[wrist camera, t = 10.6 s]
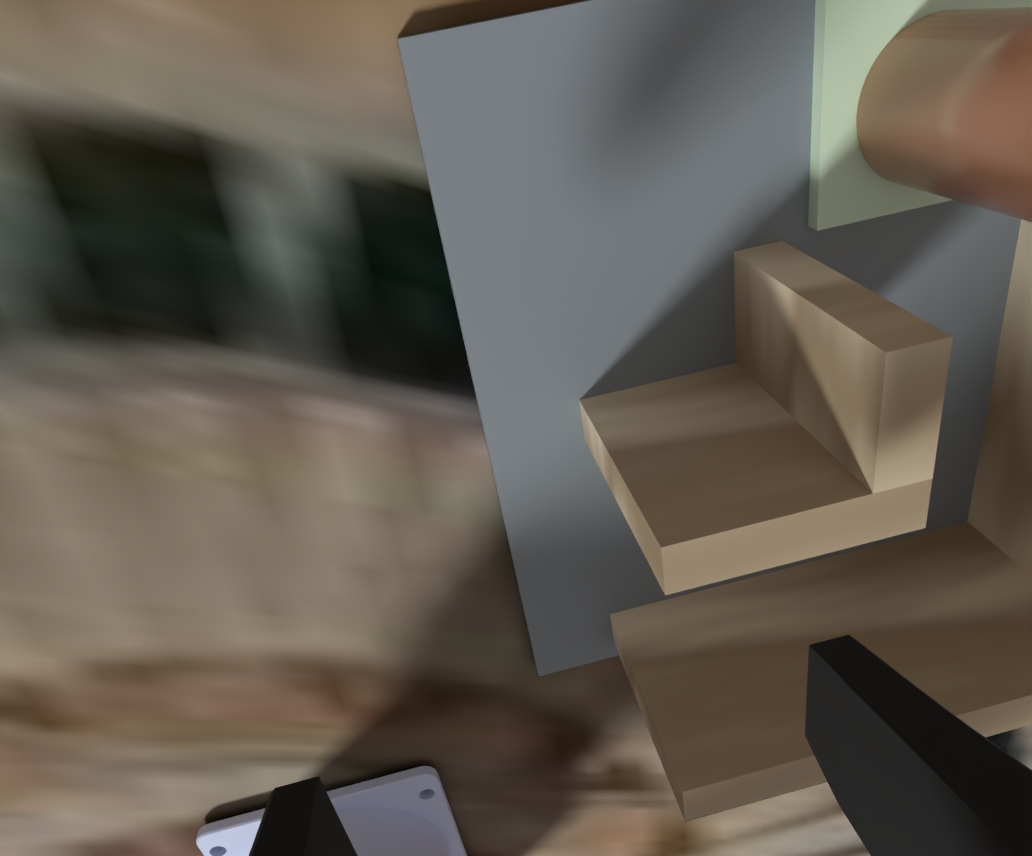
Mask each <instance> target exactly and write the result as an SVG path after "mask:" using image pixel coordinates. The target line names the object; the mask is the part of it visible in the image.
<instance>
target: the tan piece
mask: <svg viewBox="0 0 1032 856" xmlns="http://www.w3.org/2000/svg"><path fill="white" fill-rule="evenodd" d="M734 286H735V340H736V363H733V364H729V365H725V366H721V367H716V368H712V369H708V370H704V371H700V372H695V373H691V374H687V375H683V376H679V377H674V378H670V379H666V380H662V381H658V382H653V383H649V384H645V385H641V386H637V387H632V388H628V389H624V390H620V391H616V392H611V393H607V394H603V395H599V396H595V397H590V398H586V399H582V400H579V401H580V408H581V415H582V422H583V429H584V436H585V441H586V443H587V445H588V447H589V449H590V451H591V453H592V455H593V456H594V458H595V460H596V462H597V464H598V466H599V468H600V470H601V472H602V474H603V476H604V478H605V480H606V482H607V484H608V486H609V487H610V489H611V491H612V493H613V495H614V497H615V499H616V501H617V503H618V505H619V507H620V509H621V511H622V513H623V515H624V517H625V518H626V520H627V522H628V524H629V526H630V528H631V530H632V532H633V534H634V536H635V538H636V540H637V542H638V544H639V546H640V548H641V549H642V551H643V553H644V555H645V557H646V559H647V561H648V563H649V565H650V567H651V569H652V571H653V573H654V575H655V577H656V579H657V580H658V582H659V584H660V586H661V588H662V590H663V592H664V594H665V595H669V594H673V593H677V592H681V591H684V590H688V589H692V588H696V587H700V586H704V585H708V584H711V583H715V582H719V581H723V580H727V579H731V578H735V577H738V576H742V575H746V574H750V573H754V572H758V571H762V570H765V569H769V568H773V567H777V566H781V565H785V564H789V563H792V562H796V561H800V560H804V559H808V558H812V557H816V556H819V555H823V554H827V553H831V552H835V551H839V550H843V549H846V548H850V547H854V546H858V545H862V544H866V543H870V542H873V541H877V540H881V539H885V538H889V537H893V536H897V535H900V534H904V533H908V532H912V531H916V530H920V529H924V528H926V521H927V514H928V507H929V500H930V493H931V486H932V479H933V472H934V465H935V458H936V451H937V444H938V437H939V430H940V423H941V416H942V409H943V402H944V395H945V388H946V381H947V374H948V367H949V360H950V353H951V346H952V339H953V337H952V336H951V335H949V334H947V333H945V332H944V331H942V330H940V329H938V328H936V327H935V326H933V325H931V324H929V323H928V322H926V321H924V320H922V319H920V318H919V317H917V316H915V315H913V314H912V313H910V312H908V311H906V310H904V309H903V308H901V307H899V306H897V305H896V304H894V303H892V302H890V301H888V300H887V299H885V298H883V297H881V296H880V295H878V294H876V293H874V292H872V291H871V290H869V289H867V288H865V287H864V286H862V285H860V284H858V283H856V282H855V281H853V280H851V279H849V278H847V277H846V276H844V275H842V274H840V273H839V272H837V271H835V270H833V269H831V268H830V267H828V266H826V265H824V264H823V263H821V262H819V261H817V260H815V259H814V258H812V257H810V256H808V255H807V254H805V253H803V252H801V251H799V250H798V249H796V248H794V247H792V246H791V245H789V244H787V243H785V242H783V241H778V242H774V243H770V244H765V245H761V246H756V247H752V248H748V249H743V250H739V251H734ZM610 620H611V627H612V634H613V641H614V644H615V647H616V649H617V652H618V654H619V657H620V659H621V662H622V664H623V667H624V669H625V672H626V674H627V677H628V679H629V682H630V684H631V687H632V689H633V692H634V694H635V697H636V699H637V702H638V705H639V707H640V710H641V712H642V715H643V717H644V720H645V722H646V725H647V727H648V730H649V732H650V735H651V737H652V740H653V742H654V745H655V747H656V750H657V752H658V755H659V757H660V760H661V762H662V765H663V767H664V770H665V772H666V775H667V777H668V780H669V782H670V785H671V787H672V790H673V793H674V795H675V798H676V800H677V803H678V805H679V808H680V810H681V813H682V815H683V818H684V820H685V822H686V821H690V820H694V819H697V818H701V817H704V816H708V815H711V814H715V813H718V812H722V811H725V810H729V809H733V808H736V807H740V806H743V805H747V804H750V803H754V802H757V801H761V800H764V799H768V798H772V797H775V796H779V795H782V794H786V793H789V792H793V791H796V790H800V789H804V788H807V787H811V786H814V785H818V784H821V783H825V782H827V780H826V778H825V776H824V774H823V772H822V770H821V768H820V766H819V764H818V762H817V760H816V758H815V756H814V753H813V751H812V749H811V747H810V745H809V743H808V741H807V739H806V737H805V718H806V697H807V676H808V654H809V645H811V644H815V643H818V642H822V641H826V640H830V639H833V638H837V637H841V636H845V635H850V636H852V637H853V638H855V639H856V640H858V641H859V642H860V643H861V644H863V645H864V646H865V647H866V648H868V649H869V650H870V651H872V652H873V653H874V654H875V655H877V656H878V657H879V658H881V659H882V660H883V661H884V662H886V663H887V664H888V665H889V666H891V667H892V668H893V669H895V670H896V671H897V672H898V673H900V674H901V675H902V676H904V677H905V678H906V679H907V680H909V681H910V682H911V683H913V684H914V685H915V686H917V687H918V688H919V689H920V690H922V691H923V692H924V693H926V694H927V695H928V696H930V697H931V698H932V699H934V700H935V701H936V702H938V703H939V704H940V705H942V706H943V707H944V708H946V709H947V710H948V711H950V712H951V713H952V714H954V715H955V716H956V717H958V718H959V719H960V720H962V721H963V722H964V723H966V724H967V725H969V726H970V727H971V728H973V729H974V730H976V731H977V732H978V733H980V734H981V735H983V736H984V737H988V736H992V735H995V734H999V733H1002V732H1006V731H1009V730H1013V729H1016V728H1020V727H1023V726H1027V725H1031V724H1032V222H1029V221H1025V220H1022V219H1021V224H1020V229H1019V235H1018V241H1017V246H1016V252H1015V257H1014V263H1013V269H1012V274H1011V280H1010V285H1009V291H1008V297H1007V302H1006V308H1005V313H1004V319H1003V324H1002V330H1001V336H1000V341H999V347H998V352H997V358H996V364H995V369H994V375H993V380H992V386H991V392H990V397H989V403H988V408H987V414H986V420H985V425H984V431H983V436H982V442H981V448H980V453H979V459H978V464H977V470H976V476H975V481H974V487H973V492H972V498H971V504H970V509H969V515H968V520H967V522H963V523H959V524H955V525H952V526H948V527H944V528H940V529H936V530H932V531H928V532H925V533H921V534H917V535H913V536H909V537H905V538H901V539H898V540H894V541H890V542H886V543H882V544H878V545H875V546H871V547H867V548H863V549H859V550H855V551H851V552H848V553H844V554H840V555H836V556H832V557H828V558H824V559H821V560H817V561H813V562H809V563H805V564H801V565H798V566H794V567H790V568H786V569H782V570H778V571H774V572H771V573H767V574H763V575H759V576H755V577H751V578H747V579H744V580H740V581H736V582H732V583H728V584H724V585H720V586H717V587H713V588H709V589H705V590H701V591H697V592H694V593H690V594H686V595H682V596H678V597H674V598H670V599H667V600H663V601H659V602H655V603H651V604H647V605H643V606H640V607H636V608H632V609H628V610H624V611H620V612H617V613H613V614H610Z"/></svg>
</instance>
